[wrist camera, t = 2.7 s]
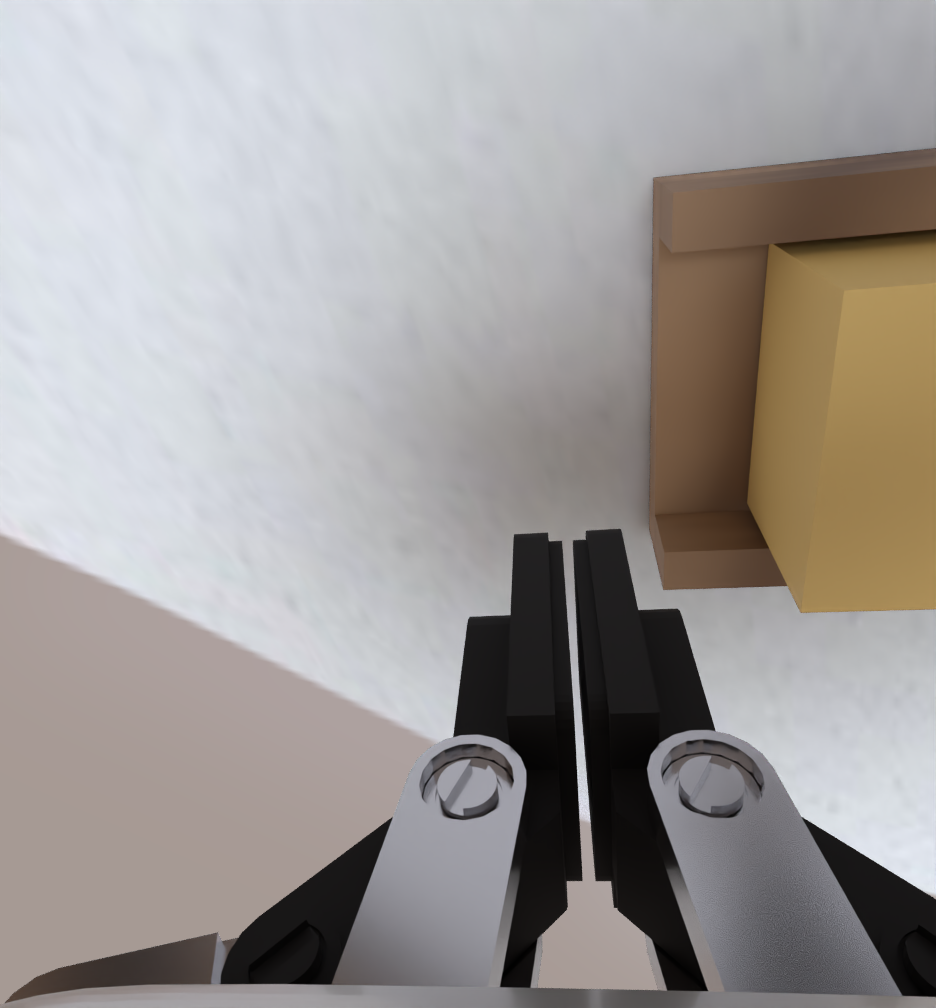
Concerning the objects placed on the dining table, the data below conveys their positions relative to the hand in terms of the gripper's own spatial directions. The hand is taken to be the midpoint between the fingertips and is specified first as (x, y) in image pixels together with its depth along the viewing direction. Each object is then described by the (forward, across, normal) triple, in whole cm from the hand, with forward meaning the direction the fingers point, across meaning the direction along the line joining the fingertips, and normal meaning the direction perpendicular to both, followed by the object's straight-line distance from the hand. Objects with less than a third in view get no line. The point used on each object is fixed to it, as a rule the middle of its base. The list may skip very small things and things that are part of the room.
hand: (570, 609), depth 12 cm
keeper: (+9, -8, 0) cm, 12 cm away
